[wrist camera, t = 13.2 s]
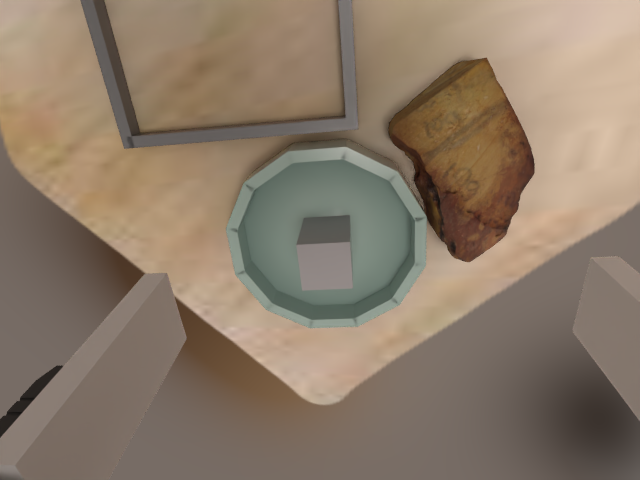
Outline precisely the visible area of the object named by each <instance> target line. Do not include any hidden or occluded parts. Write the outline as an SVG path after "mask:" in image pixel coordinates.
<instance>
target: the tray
mask: <svg viewBox="0 0 640 480" xmlns="http://www.w3.org/2000/svg"><path fill="white" fill-rule="evenodd" d="M338 3H339V19H340V35H341V51H342V66H343V82H344V98H345V114H346V116H335V117H323V118H312V119H300V120H289V121H277V122H265V123H254V124H242V125H231V126H219V127H207V128H196V129H184V130H173V131H161V132H150V133H140V131H139V127H138V123H137V120H136V116H135V112H134V109H133V105H132V102H131V98H130V94H129V91H128V87H127V83H126V80H125V76H124V72H123V69H122V65H121V61H120V58H119V54H118V50H117V47H116V43H115V40H114V36H113V32H112V29H111V25H110V21H109V18H108V14H107V10H106V7H105V3H104V0H81V4H82V7H83V10H84V14H85V17H86V21H87V24H88V27H89V31H90V34H91V38H92V41H93V44H94V48H95V51H96V55H97V58H98V61H99V65H100V68H101V71H102V75H103V78H104V82H105V85H106V88H107V92H108V95H109V99H110V102H111V105H112V109H113V112H114V116H115V119H116V122H117V126H118V129H119V132H120V136H121V139H122V143H123V146H124V149H126V148H138V147H150V146H163V145H175V144H187V143H199V142H211V141H223V140H235V139H247V138H259V137H272V136H284V135H296V134H308V133H320V132H332V131H344V130H356V129H358V113H357V93H356V74H355V54H354V34H353V15H352V0H338Z"/></svg>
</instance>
